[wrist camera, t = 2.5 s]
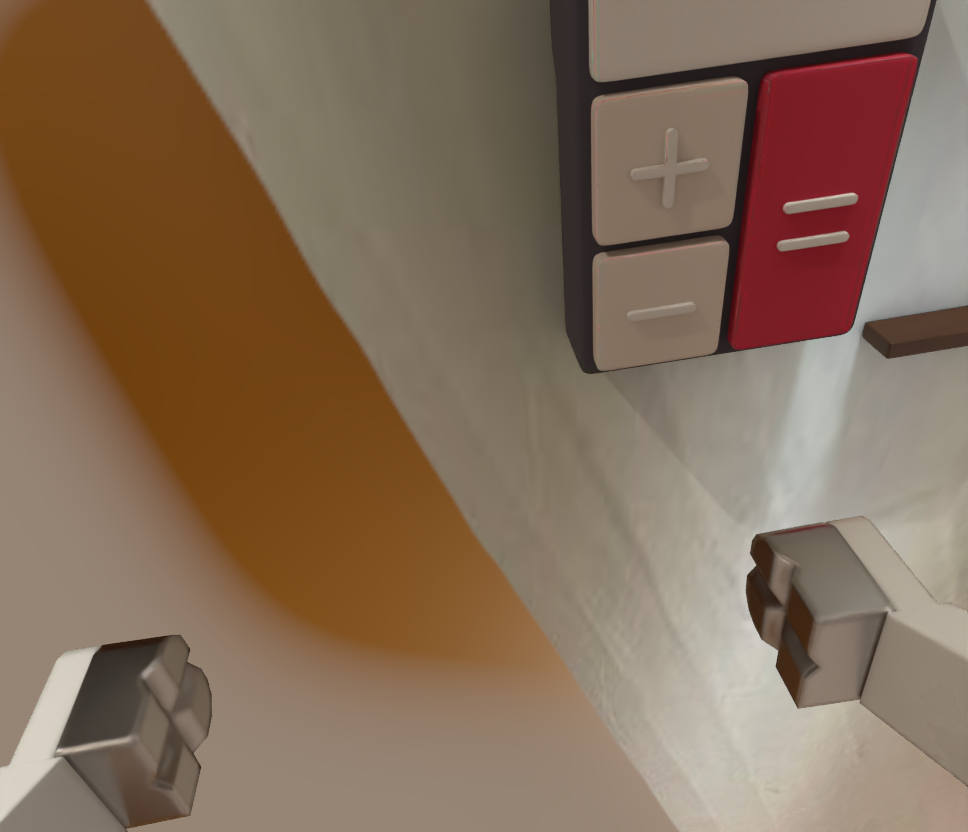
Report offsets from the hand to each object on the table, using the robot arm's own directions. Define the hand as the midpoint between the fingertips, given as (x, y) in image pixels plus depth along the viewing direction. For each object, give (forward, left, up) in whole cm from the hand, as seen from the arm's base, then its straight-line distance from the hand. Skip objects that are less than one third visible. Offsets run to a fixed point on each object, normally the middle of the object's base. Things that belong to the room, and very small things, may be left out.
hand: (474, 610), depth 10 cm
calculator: (0, +11, -20) cm, 22 cm away
